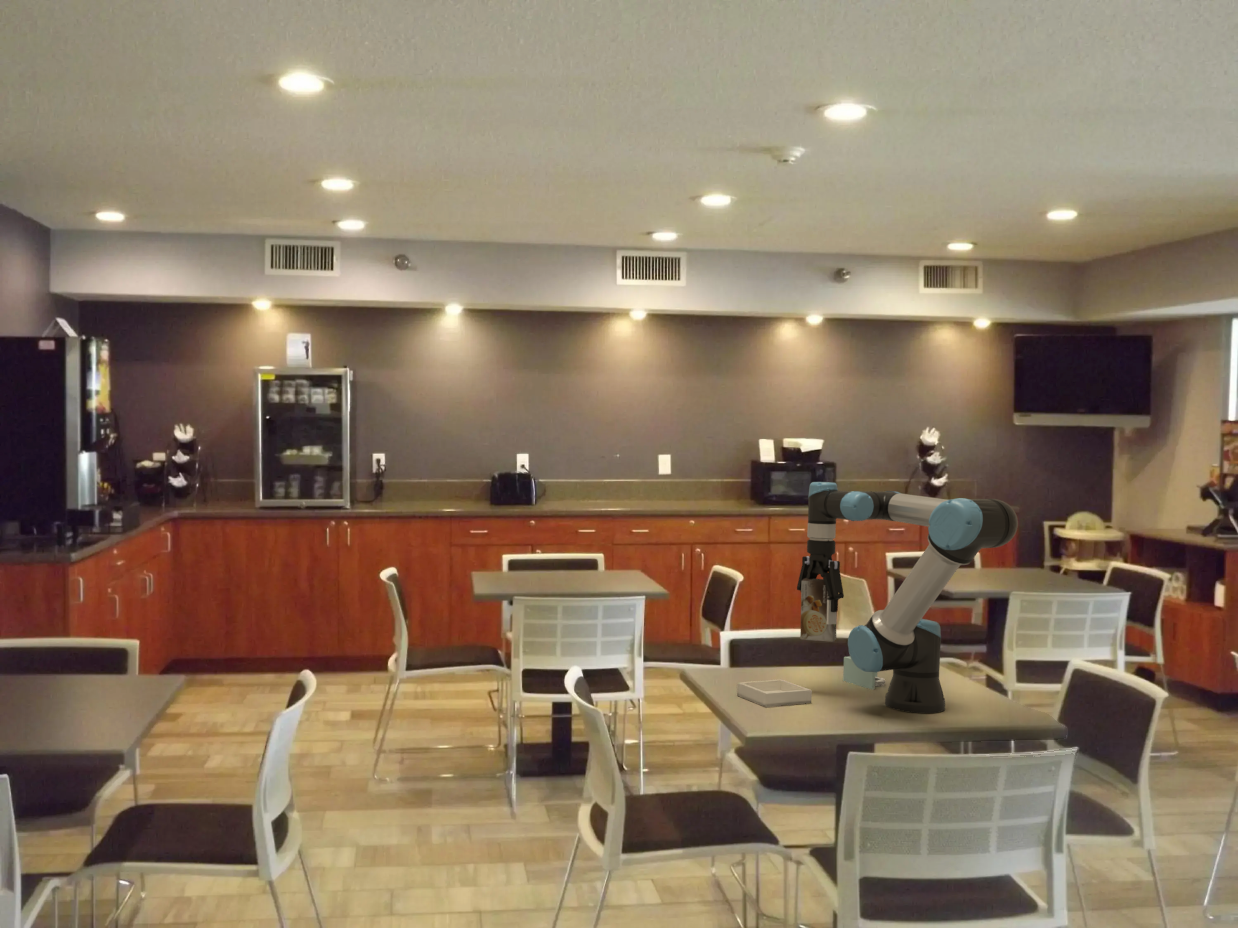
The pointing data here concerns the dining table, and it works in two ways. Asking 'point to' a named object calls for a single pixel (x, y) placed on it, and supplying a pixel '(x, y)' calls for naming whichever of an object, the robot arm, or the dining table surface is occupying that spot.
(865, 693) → the dining table surface
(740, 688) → the white square tray
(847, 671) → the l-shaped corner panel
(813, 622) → the coffee box
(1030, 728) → the dining table surface
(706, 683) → the dining table surface
